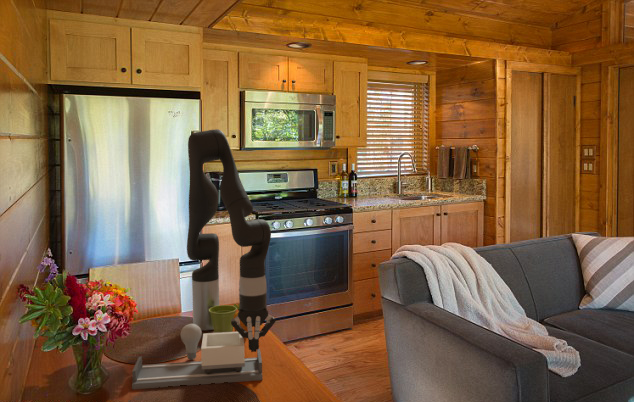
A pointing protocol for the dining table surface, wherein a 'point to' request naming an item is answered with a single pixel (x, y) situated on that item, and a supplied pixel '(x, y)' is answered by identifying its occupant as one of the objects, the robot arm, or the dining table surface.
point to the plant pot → (222, 317)
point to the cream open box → (222, 351)
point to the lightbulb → (191, 339)
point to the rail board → (192, 373)
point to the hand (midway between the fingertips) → (253, 350)
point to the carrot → (240, 322)
